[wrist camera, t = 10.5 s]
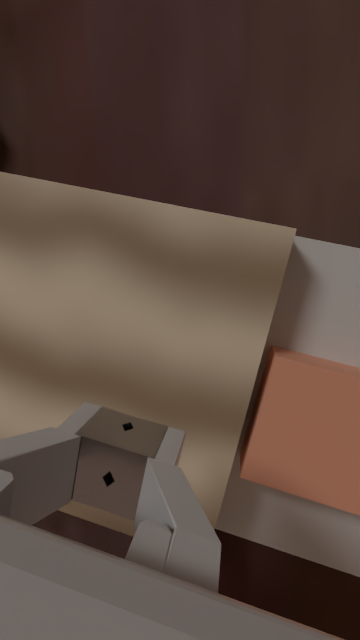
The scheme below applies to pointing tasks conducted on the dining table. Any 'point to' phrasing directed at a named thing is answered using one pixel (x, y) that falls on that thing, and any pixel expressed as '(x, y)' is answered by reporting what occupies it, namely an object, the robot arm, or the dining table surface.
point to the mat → (285, 332)
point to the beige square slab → (134, 319)
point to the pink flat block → (306, 430)
